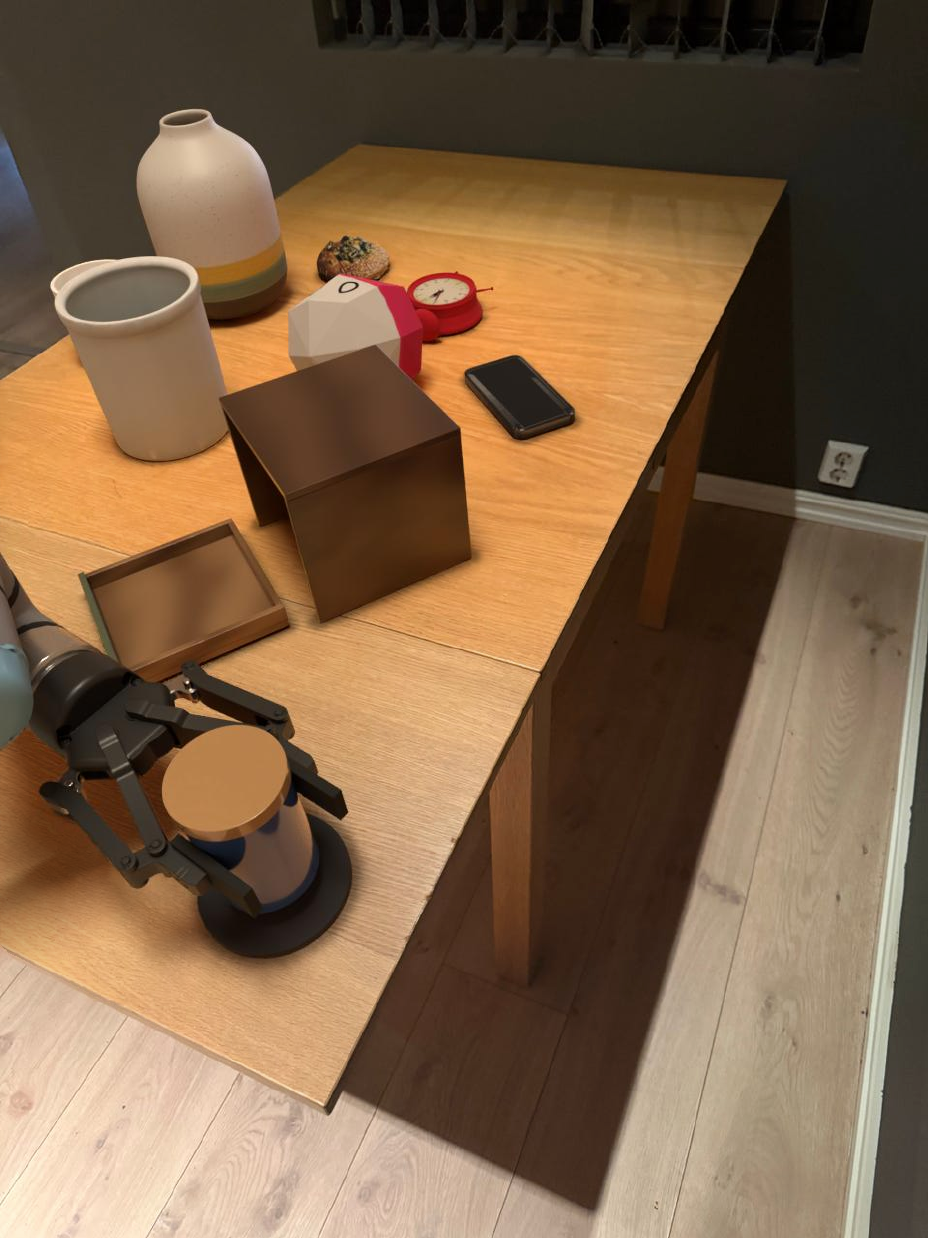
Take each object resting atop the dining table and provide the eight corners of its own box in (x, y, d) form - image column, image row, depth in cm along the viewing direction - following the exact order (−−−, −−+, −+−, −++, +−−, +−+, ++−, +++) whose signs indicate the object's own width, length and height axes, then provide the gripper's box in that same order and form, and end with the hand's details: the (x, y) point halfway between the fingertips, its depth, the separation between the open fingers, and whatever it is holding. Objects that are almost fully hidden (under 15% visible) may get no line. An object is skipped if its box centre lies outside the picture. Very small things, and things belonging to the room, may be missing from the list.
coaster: (167, 902, 63) (164, 898, 62) (274, 791, 69) (272, 787, 68) (277, 990, 58) (275, 987, 58) (382, 862, 64) (381, 858, 63)
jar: (190, 878, 61) (135, 791, 53) (267, 799, 65) (226, 706, 57) (268, 938, 58) (222, 854, 50) (344, 850, 62) (312, 759, 54)
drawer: (125, 695, 76) (114, 675, 74) (88, 594, 85) (77, 573, 83) (290, 625, 81) (283, 604, 79) (237, 535, 90) (230, 515, 88)
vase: (272, 333, 119) (224, 141, 101) (156, 330, 122) (90, 143, 104) (309, 275, 130) (271, 93, 113) (202, 273, 133) (150, 96, 116)
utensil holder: (265, 413, 106) (226, 271, 93) (173, 480, 98) (117, 335, 85) (180, 382, 112) (133, 244, 99) (87, 443, 104) (23, 302, 91)
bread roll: (302, 269, 131) (300, 234, 128) (363, 254, 137) (363, 220, 133) (344, 296, 125) (343, 260, 122) (407, 279, 131) (407, 245, 127)
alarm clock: (503, 285, 116) (416, 302, 107) (498, 332, 120) (413, 352, 111) (450, 262, 121) (364, 277, 113) (447, 308, 125) (362, 326, 117)
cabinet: (320, 623, 81) (284, 494, 70) (257, 523, 91) (218, 397, 81) (472, 558, 85) (460, 427, 75) (395, 469, 96) (375, 343, 85)
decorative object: (432, 253, 99) (340, 277, 89) (457, 386, 106) (373, 422, 95) (340, 269, 109) (247, 292, 98) (368, 391, 115) (283, 424, 105)
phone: (516, 433, 97) (461, 370, 107) (517, 441, 98) (461, 378, 108) (579, 412, 99) (519, 352, 109) (579, 420, 100) (519, 360, 109)
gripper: (189, 642, 73) (407, 770, 62) (-24, 823, 62) (195, 1014, 52) (160, 576, 67) (392, 705, 57) (-80, 763, 57) (153, 962, 46)
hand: (298, 852), depth 54 cm, fingers closed on jar, 7 cm apart
